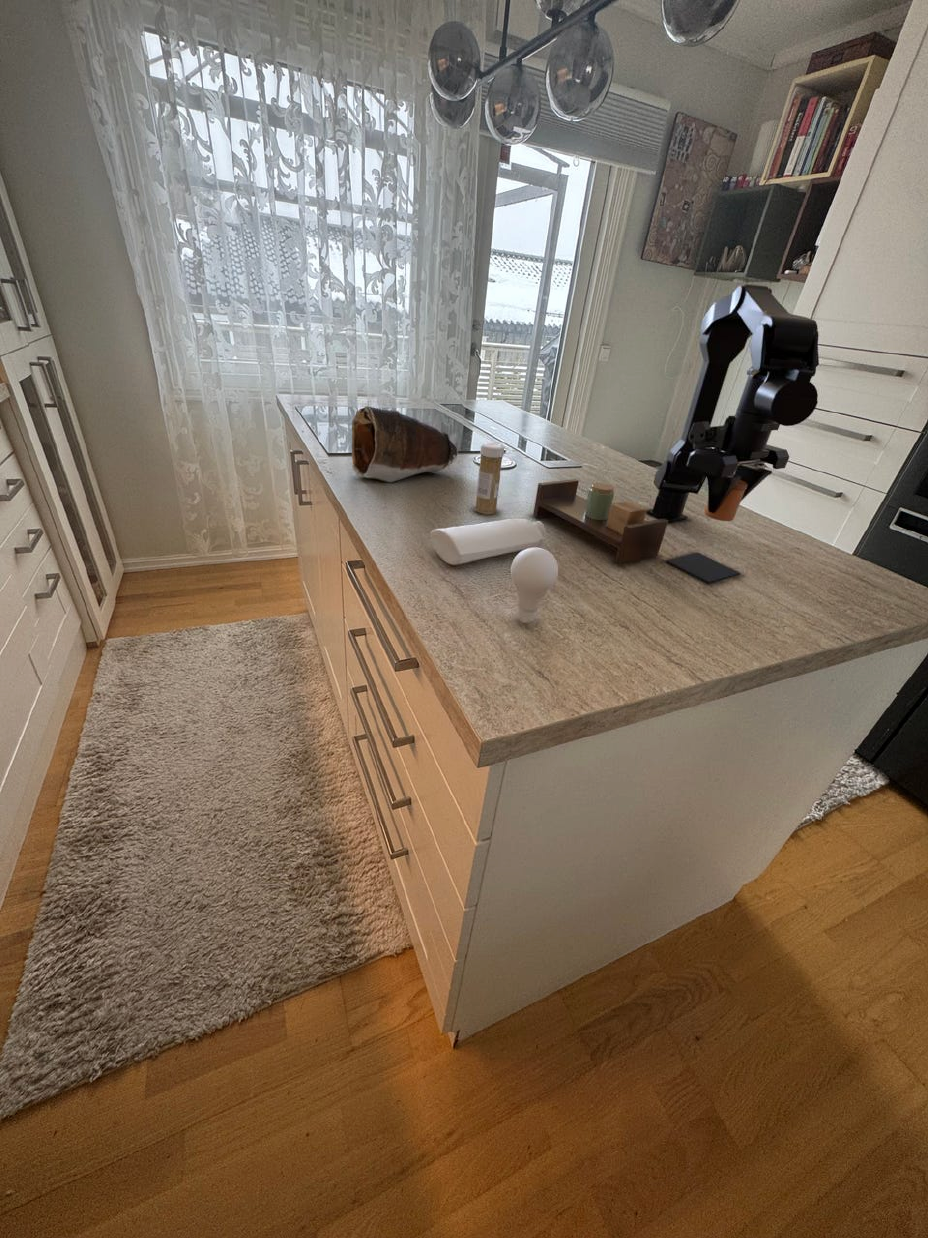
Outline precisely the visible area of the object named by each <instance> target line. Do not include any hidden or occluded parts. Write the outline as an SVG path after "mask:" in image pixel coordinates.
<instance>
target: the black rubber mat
mask: <svg viewBox="0 0 928 1238" xmlns="http://www.w3.org/2000/svg"><path fill="white" fill-rule="evenodd" d="M665 563H666V564H669V565H671V566H672V567H674V568H677V569H678V570H680V571H682V572H684V573H686V574H688V575H689V576H691V577H694V578H695V579H698V580H700V581H701V582H703V583H705V584H707V585H711V584H714V583H717V582H720V581H723V580H728V579H730V578H733V577H736V576H740V575H741V572H740V571H738V570H736V569H733V568H731V567H729V566H728V565H725V564H722V563H721V562H718V561H717V560H715V559H712V558H710V557H708V556H705V555H704V554H703V553H699V552H694V553H690V554H686V555H681V556H677V557H674V558H669V559H666V560H665Z"/></svg>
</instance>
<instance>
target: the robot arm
mask: <svg viewBox="0 0 928 1238" xmlns="http://www.w3.org/2000/svg"><path fill="white" fill-rule="evenodd" d="M699 332H700V339H699V343H698V344H699V345H698V346H699V348H700V349H699V350H700V352H701V357H702V360H703V361H702V364H701V369H700V372H699V375H698V379H697V382H696V385H695V388H694V392H693V396H692V399H691V403H690V407H689V410H688V413H687V417H686V420H685V424H684V427H683V431H682V434H681V437H680V439H679V440H678V441H677V443H675V444H674V446H672V447H671V448H670V450H669V451H668V453H667V455H666V459H665V460H664V461H663V462H662V463H661V465H660V466H659V468H658V470H657V471H656V472H655V474H654V479H653V485H654V486H655V488H656V489H657V490H658V493H657V495H656V497H655V501H654V504H653V508H650V509H647V511H646V514H649V515H651V516H654V517H656V518H657V519H663V518H664V519H666V520H668V523H674V522H678V521H683V520H687V519H688V516H687V515H685V514H683V513H684V509H685V507H686V504H687V500H688V497H689V494H695V495H698V494H699V492H700V491H701V489H702V486H703V485H704V483H705V481H706V479H707V491H708V492H707V499H708V500H707V502H708V511H709V512H711V513H715V512H716V511H717V510H718V508H719V507H720V506H721V505H722V503H723V502H724V500H725V499H726V498H727V496H728V495H729V493H730V492H731V491H732V489H733V488H734V486H735V485H736V484H737V482H738V481H739V480H742V481H744V482H746V483H747V484H748V486H747V488H746V490H745V491H744V494H743V497H742V499H741V502H742V501H743V500H745V498H746V497H747V496H748V495H749V494H750V493H751V492H752V491H753V490H754V489H755V488H756V487H758V486H759V485H760V484H761V483H762V482H763V481H764V480H765V479H766V478H767V477H768V476H771V475H772V474H773V471H772V470H770V469H766V466H767V464H768V465H772V469H774V470H781V469H782V470H783V469H785V468H786V467H787V464H788V462H789V460H790V455H789V453H788V449H785V448H782V447H778V446H774V445H771V444H768V442H769V439H770V436H771V434H772V431H778V430H779V429H780V427H781V426H783V427H790V426H791V427H793V426H795V425H799V424H801V423H803V422H805V421H806V420H807V419H808V418H809V417H810V416H811V415H812V414H813V413H814V411H815V409H816V408H817V405H818V403H819V401H818V396H819V395H818V389H817V387H816V386H815V385H814V383H812V382H811V381H812V378H813V377H815V375H816V374H817V373H816V372H817V367H818V366H819V364H820V359H819V356H820V355H819V337H820V335H819V330H818V323H817V321H816V320H815V319H813V318H809V317H806V316H802V315H797V314H794V313H793V314H792V313H790V312H788V310H787V309H786V308H785V307H784V306H783V304H781V303H780V301H779V300H778V299H777V298H776V297H775V295H773V290H772V288H769V286H766V285H758V284H749V283H748V284H747V283H744V284H743V285H741V284H740V285H738V286H737V287H736V288H735V290H734V291H733V292H732V293H730V294H728V295H725V296H724V297H722V298H720V299H718V300H716V301H714V302H713V304H712V305H711V306H710V308H709V309H708V310H707V311H706V313H705V315H704V316H703V319H702V321H701V325H700V331H699ZM751 336H752V337H751ZM750 337H751V340H750V342H749V345H748V347H749V350H750V351H749V352H750V359H751V365H752V366H750V367H749V368H748V369H747V371H746V375H747V380H746V382H745V385H744V389H743V391H742V393H741V396H740V400H739V402H738V405H737V408H736V411H735V414H734V415H728V417H726V418H725V420H724V423H723V425H717V426H712V422H713V418H714V417H715V412H716V410H717V406H718V402H719V399H720V397H721V393H722V390H723V386H724V383H725V381H726V377H727V374H728V371H729V368H730V365H731V363H732V362H733V361H734V360H735V359H736V358H737V357H738V356H739V355H740V354H741V353H742V352H743V350H745V348H746V345H747V342H748V340H749V338H750Z"/></svg>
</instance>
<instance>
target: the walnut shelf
mask: <svg viewBox="0 0 928 1238" xmlns="http://www.w3.org/2000/svg"><path fill="white" fill-rule="evenodd" d="M579 483H580V481H579V480H578V479H576V478H573V479H564V480H555V481H546V482H539V483H538V484H537V488H536V495H535V501H534V506H533V514H532V517H533V518H535V519H540V518H541V519H542V518H546V517H553V516H554V517H555V516H557V517H560V518H562V519H563V520H565V521H567V522H569V523H571V524H573V525H575V526H576V527H578V528H581V530H584V531H586V532H588V533H590V534H592V535H593V536H595V537H597V538H599V539H601V540H602V541H605V542H606V543H608V544H610V545H612V546H614V547H616V548H617V549H618V550H617V553H616V557H615V561H614V563H615V564H616V565H618V566H623V565H627V564H631V563H636V562H640V561H643V560H648V559H653V558H657V557H658V555H659V552H660V549H661V546H662V543H663V540H664V536H665V534H666V530H667V527H668V524H669V522H668V520H666V519H664V518H663V519H660V518H657V519H653V520H648V521H643V522H642V523H636V524H631V525H626V526H625V527H624V531H623V534H620V533H618V532H616V531H614V530H612V529H610V528H608V527H606V525H607V521H608V519H606V520H594V519H591V518H588V517H586V516H585V515H584V511H585V507H586V502H587V498H584V497H582V496H579V495H577V492H578V487H579ZM609 513H610V512H609ZM608 517H609V516H608Z"/></svg>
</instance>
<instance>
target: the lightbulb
mask: <svg viewBox="0 0 928 1238" xmlns="http://www.w3.org/2000/svg"><path fill="white" fill-rule="evenodd" d="M510 576H511V579H512V582H513V584H514V587H515V591H516V595H517V597H516V598H517V599H516V604H517V613H516V617H517V619H518V621H521V622H522V623H523V624H530V623H533V622H534V621H536V617H537V615H538V610H539V609H540V607H541V604H542V601H543V599H544V597H545V596H546V594H547V593H548V592H549V591H550V590H551V589H552V587H553V586H555V583H556V582H557V580H558V576H559V565H558V562H557V559H556V558H555V557H554V555H553V554H552V553H551V552H550V551H548V550H547V549H544V548H542V547H539V546H538V547H533V548H528V549H525V550H522V551H519V552H518V554H517V555H516V556H515V557H514V559H513V560H512V563H511V567H510Z"/></svg>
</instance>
